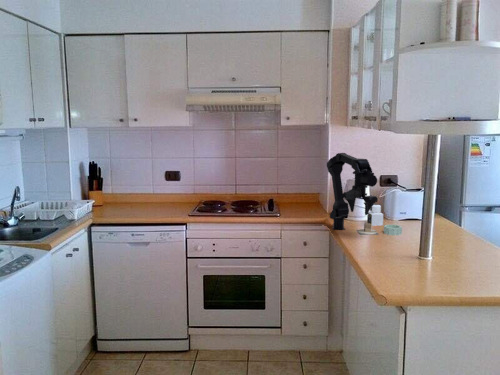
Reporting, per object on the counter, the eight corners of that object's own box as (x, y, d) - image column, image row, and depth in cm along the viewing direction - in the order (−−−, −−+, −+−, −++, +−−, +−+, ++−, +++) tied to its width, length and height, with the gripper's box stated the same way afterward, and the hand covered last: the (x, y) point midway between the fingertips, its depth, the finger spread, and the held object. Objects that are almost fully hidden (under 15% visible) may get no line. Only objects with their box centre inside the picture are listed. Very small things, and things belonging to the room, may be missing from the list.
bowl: (381, 231, 239) (382, 224, 238) (398, 231, 238) (398, 224, 238) (386, 236, 230) (386, 228, 229) (403, 235, 230) (404, 228, 229)
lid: (356, 230, 241) (356, 221, 241) (374, 229, 241) (374, 221, 240) (360, 234, 232) (360, 226, 231) (379, 234, 231) (379, 226, 231)
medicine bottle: (367, 223, 258) (367, 203, 256) (378, 223, 259) (379, 203, 257) (371, 226, 251) (371, 205, 249) (383, 226, 252) (384, 205, 250)
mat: (356, 230, 241) (356, 230, 241) (374, 230, 241) (374, 229, 241) (360, 235, 232) (360, 234, 232) (379, 235, 231) (379, 234, 231)
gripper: (335, 182, 226) (334, 212, 229) (363, 187, 211) (362, 219, 214) (350, 180, 232) (349, 209, 235) (378, 185, 217) (377, 216, 220)
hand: (359, 213), depth 226 cm, fingers open, 9 cm apart
